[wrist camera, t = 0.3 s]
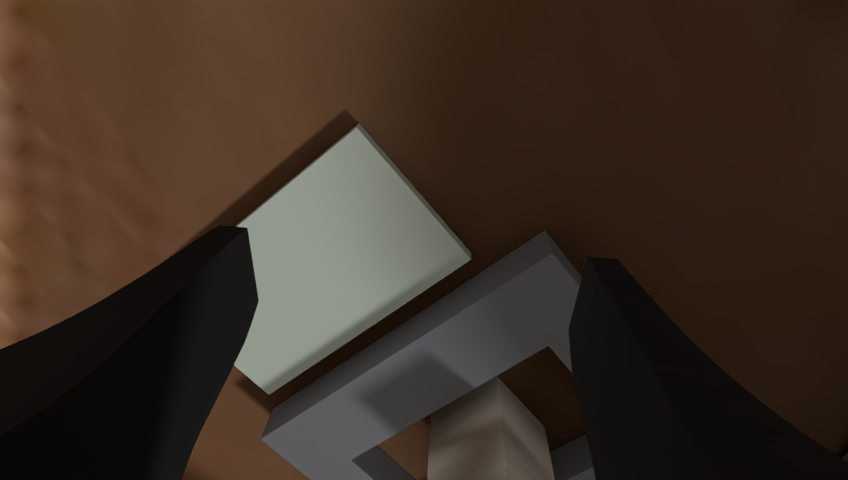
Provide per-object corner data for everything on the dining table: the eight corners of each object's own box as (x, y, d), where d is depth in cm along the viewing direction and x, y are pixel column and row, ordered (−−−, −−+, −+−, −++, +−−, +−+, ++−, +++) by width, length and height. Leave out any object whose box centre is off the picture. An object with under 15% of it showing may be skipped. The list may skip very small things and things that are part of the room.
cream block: (479, 461, 29) (485, 575, 24) (430, 414, 28) (425, 523, 22) (544, 426, 28) (566, 539, 23) (496, 375, 27) (507, 482, 21)
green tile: (272, 386, 27) (268, 395, 27) (159, 288, 25) (153, 295, 25) (470, 252, 24) (471, 259, 23) (359, 122, 21) (356, 127, 21)
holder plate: (447, 556, 33) (446, 591, 31) (272, 408, 28) (260, 439, 26) (706, 434, 28) (724, 467, 26) (544, 229, 23) (552, 253, 21)
